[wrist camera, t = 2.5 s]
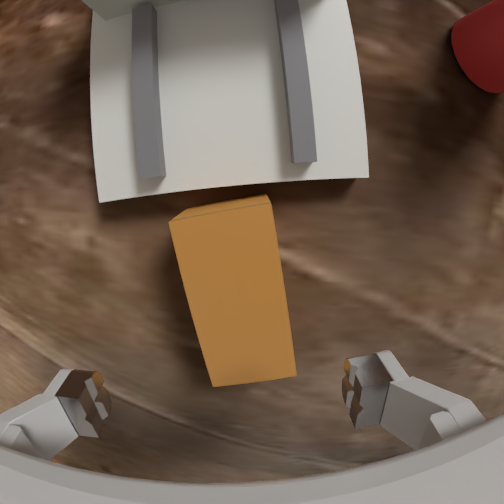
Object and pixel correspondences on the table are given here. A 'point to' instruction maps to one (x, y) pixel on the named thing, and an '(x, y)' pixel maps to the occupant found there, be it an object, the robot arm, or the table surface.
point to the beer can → (482, 46)
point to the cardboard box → (235, 289)
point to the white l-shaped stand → (223, 94)
